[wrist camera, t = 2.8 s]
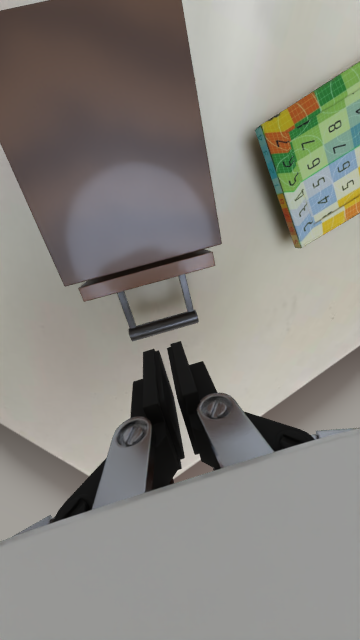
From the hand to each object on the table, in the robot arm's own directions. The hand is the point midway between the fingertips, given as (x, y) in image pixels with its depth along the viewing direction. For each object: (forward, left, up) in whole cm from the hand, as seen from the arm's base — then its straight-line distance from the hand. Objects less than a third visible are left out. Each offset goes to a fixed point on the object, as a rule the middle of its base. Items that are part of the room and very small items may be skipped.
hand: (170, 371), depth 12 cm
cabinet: (0, +12, -17) cm, 21 cm away
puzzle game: (+24, +10, -17) cm, 31 cm away
